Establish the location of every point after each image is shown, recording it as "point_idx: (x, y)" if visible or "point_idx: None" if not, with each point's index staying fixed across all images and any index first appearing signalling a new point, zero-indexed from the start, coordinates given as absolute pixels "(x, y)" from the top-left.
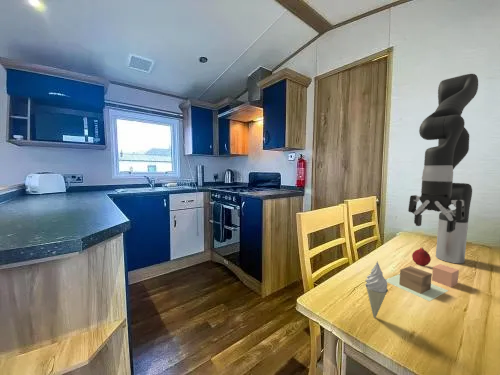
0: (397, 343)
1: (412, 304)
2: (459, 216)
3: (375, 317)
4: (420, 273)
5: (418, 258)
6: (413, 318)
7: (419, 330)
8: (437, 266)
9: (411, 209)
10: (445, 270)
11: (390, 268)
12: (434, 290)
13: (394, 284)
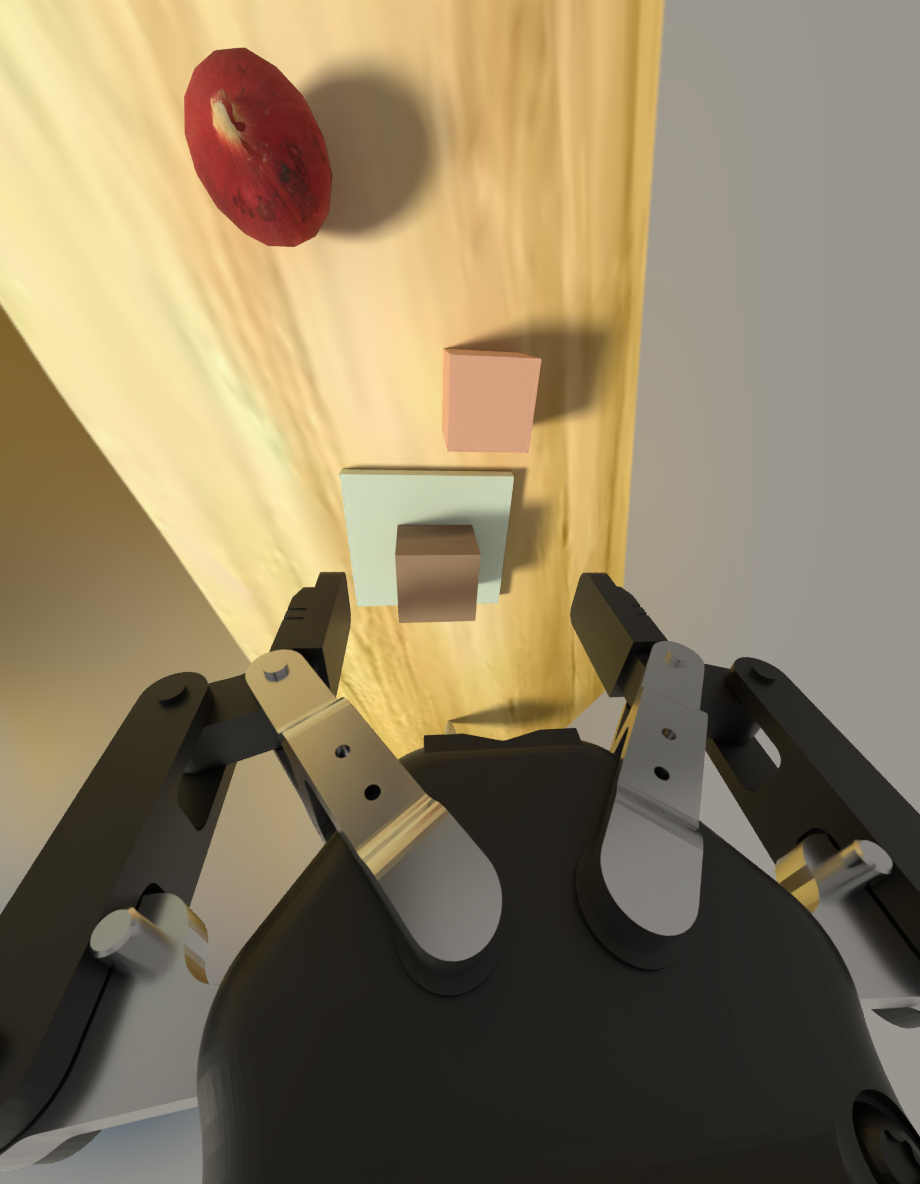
0: (506, 736)
1: (469, 626)
2: (736, 751)
3: (451, 722)
4: (455, 590)
5: (281, 243)
6: (494, 670)
7: (516, 690)
8: (458, 420)
9: (218, 778)
10: (500, 444)
11: (255, 432)
12: (484, 524)
13: (393, 600)
